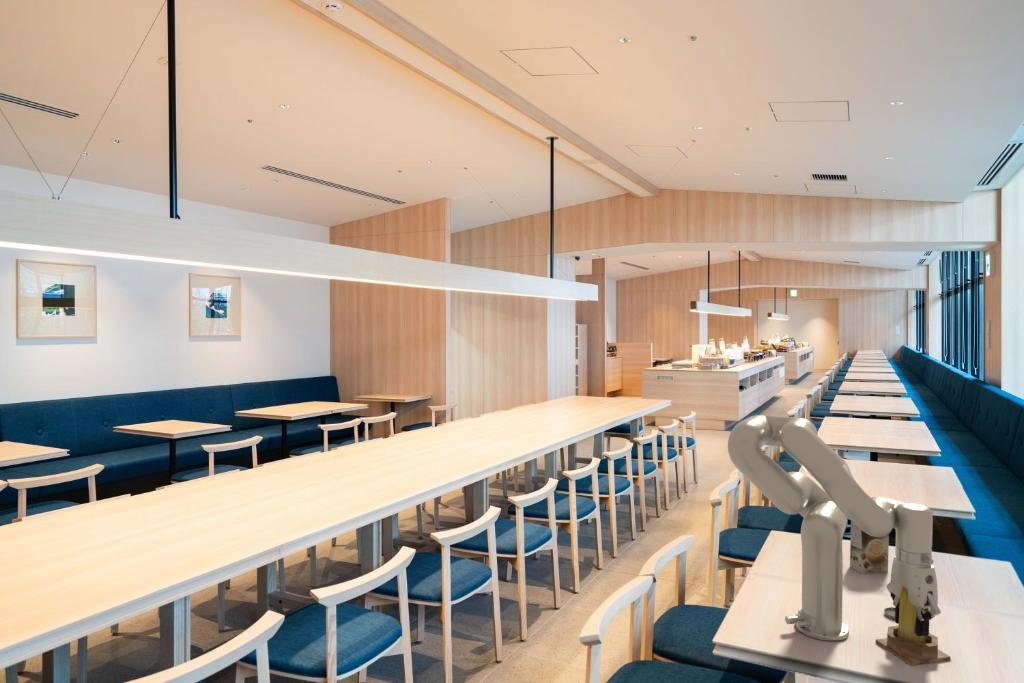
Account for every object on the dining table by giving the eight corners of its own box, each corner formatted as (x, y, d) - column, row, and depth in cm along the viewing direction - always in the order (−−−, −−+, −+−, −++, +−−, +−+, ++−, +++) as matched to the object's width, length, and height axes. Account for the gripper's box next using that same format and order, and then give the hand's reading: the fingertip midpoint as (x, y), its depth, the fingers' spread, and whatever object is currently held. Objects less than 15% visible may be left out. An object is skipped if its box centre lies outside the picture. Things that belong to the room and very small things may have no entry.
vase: (928, 641, 160) (930, 584, 160) (923, 651, 156) (924, 592, 155) (900, 633, 164) (901, 577, 164) (894, 642, 160) (895, 585, 159)
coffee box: (862, 574, 206) (862, 523, 206) (849, 566, 213) (849, 517, 212) (889, 572, 208) (889, 522, 207) (875, 564, 214) (875, 515, 213)
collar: (911, 665, 154) (911, 649, 153) (875, 642, 164) (875, 627, 164) (950, 659, 156) (950, 644, 156) (912, 637, 167) (913, 622, 166)
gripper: (957, 568, 151) (955, 644, 152) (898, 542, 168) (897, 611, 169) (929, 571, 150) (927, 648, 151) (873, 544, 167) (871, 614, 168)
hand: (911, 628), depth 160 cm, fingers closed on vase, 5 cm apart
